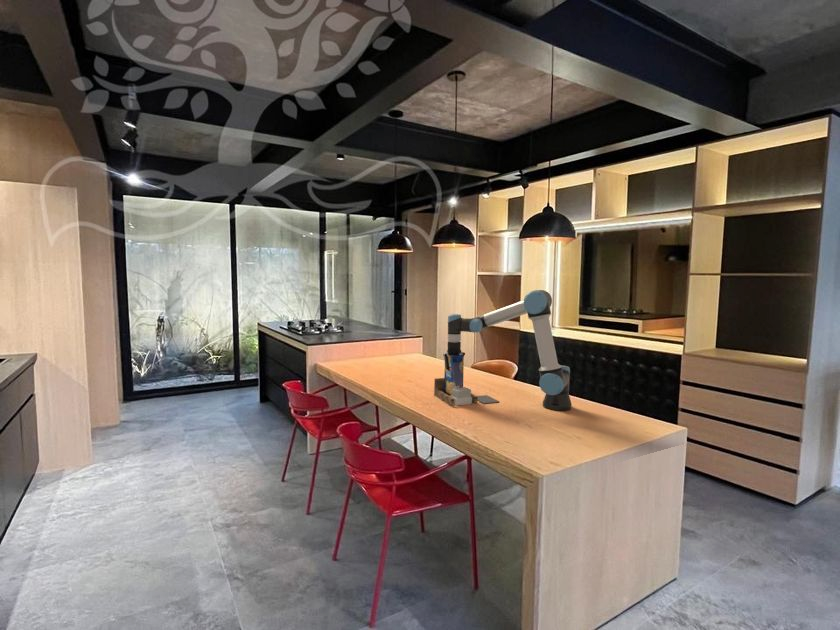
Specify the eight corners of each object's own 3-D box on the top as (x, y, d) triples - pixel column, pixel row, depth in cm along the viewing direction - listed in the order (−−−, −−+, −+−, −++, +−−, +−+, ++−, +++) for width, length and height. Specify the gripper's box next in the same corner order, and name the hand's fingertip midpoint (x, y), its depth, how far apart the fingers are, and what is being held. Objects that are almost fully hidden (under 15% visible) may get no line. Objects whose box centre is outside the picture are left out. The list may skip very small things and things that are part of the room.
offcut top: (470, 396, 253) (471, 389, 252) (457, 398, 248) (457, 391, 248) (464, 393, 258) (464, 387, 258) (451, 395, 253) (451, 388, 253)
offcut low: (471, 404, 252) (472, 397, 251) (455, 405, 248) (455, 398, 248) (466, 400, 258) (466, 394, 258) (450, 402, 255) (450, 395, 254)
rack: (477, 403, 252) (477, 386, 251) (451, 406, 246) (451, 388, 245) (458, 393, 274) (459, 376, 273) (434, 395, 268) (434, 378, 267)
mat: (499, 402, 255) (499, 401, 255) (483, 404, 252) (483, 402, 251) (486, 396, 268) (486, 395, 268) (471, 397, 264) (471, 396, 264)
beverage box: (454, 389, 269) (455, 352, 267) (463, 394, 258) (463, 356, 257) (444, 390, 266) (444, 353, 264) (452, 395, 256) (452, 356, 254)
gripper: (462, 339, 266) (462, 379, 268) (439, 341, 261) (439, 381, 263) (468, 341, 259) (468, 382, 261) (445, 342, 254) (444, 384, 256)
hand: (453, 381), depth 262 cm, fingers closed on beverage box, 2 cm apart
